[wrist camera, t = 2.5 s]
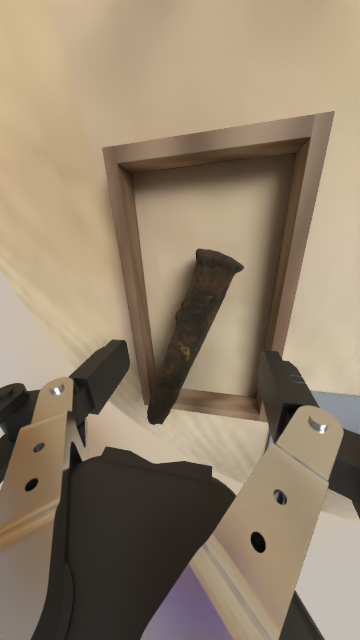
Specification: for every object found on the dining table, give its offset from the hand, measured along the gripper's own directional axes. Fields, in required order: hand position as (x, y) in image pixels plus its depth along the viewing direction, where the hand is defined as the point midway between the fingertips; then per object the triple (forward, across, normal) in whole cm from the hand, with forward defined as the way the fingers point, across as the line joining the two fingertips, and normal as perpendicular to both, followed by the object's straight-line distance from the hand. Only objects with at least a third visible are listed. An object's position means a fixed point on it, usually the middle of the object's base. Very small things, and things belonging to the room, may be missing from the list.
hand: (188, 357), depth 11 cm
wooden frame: (+10, 0, 0) cm, 10 cm away
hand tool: (+12, -1, -1) cm, 13 cm away
